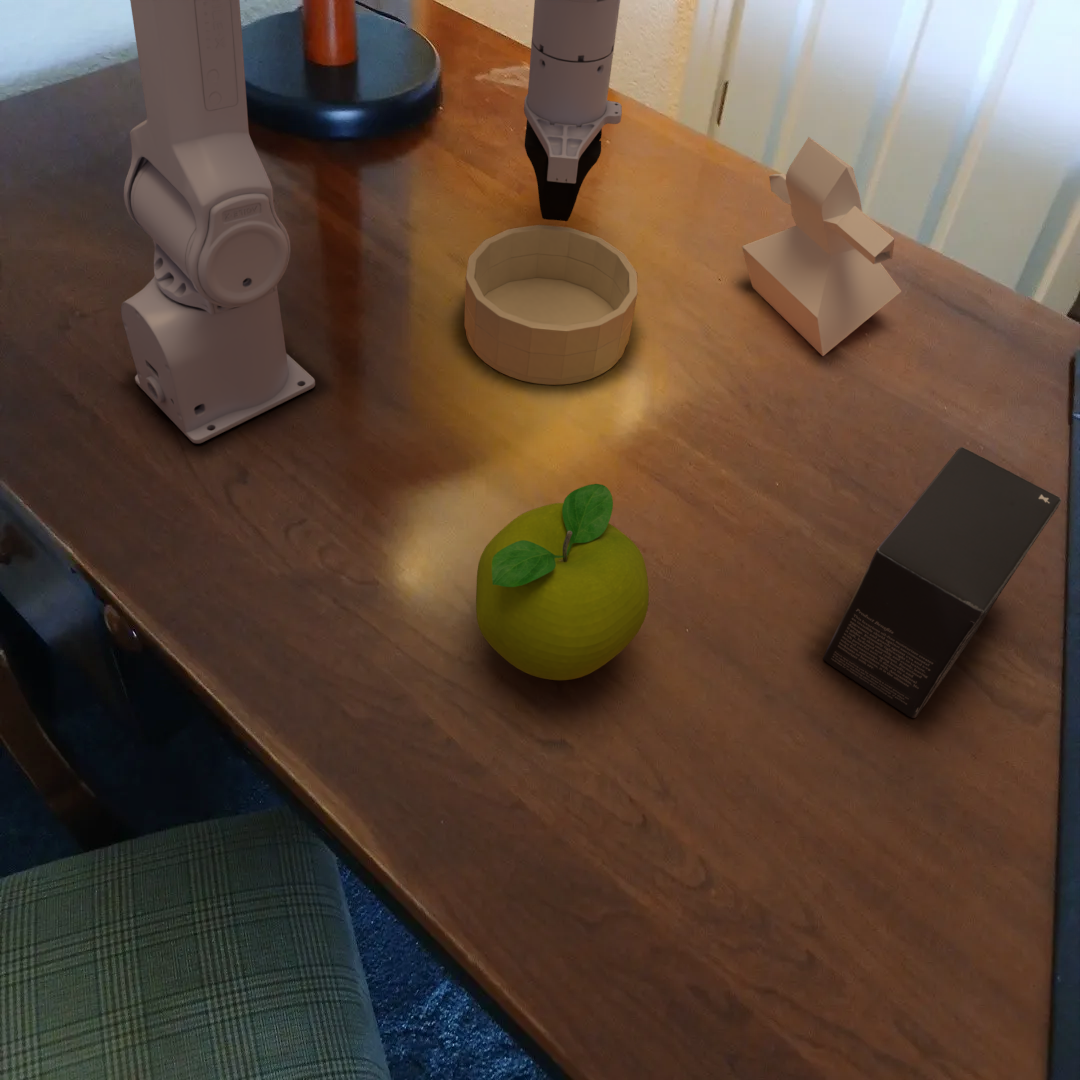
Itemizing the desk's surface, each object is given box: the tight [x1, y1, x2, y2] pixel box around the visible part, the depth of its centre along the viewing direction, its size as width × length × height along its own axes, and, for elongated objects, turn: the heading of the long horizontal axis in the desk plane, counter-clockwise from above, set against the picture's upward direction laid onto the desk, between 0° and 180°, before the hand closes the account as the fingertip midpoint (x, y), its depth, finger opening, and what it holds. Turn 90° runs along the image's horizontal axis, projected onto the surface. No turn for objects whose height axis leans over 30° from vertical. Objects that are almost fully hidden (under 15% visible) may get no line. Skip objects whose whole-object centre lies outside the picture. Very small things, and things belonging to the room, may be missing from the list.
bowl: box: [463, 224, 638, 386], centre depth 77 cm, size 12×12×5 cm
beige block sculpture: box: [741, 136, 902, 357], centre depth 78 cm, size 8×14×14 cm, turn 29°
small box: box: [822, 446, 1062, 719], centre depth 59 cm, size 11×6×10 cm, turn 141°
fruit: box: [475, 483, 650, 681], centre depth 57 cm, size 9×9×10 cm
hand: (555, 215), depth 83 cm, fingers closed
